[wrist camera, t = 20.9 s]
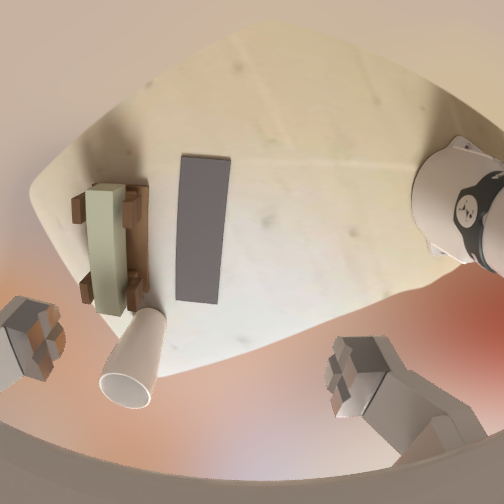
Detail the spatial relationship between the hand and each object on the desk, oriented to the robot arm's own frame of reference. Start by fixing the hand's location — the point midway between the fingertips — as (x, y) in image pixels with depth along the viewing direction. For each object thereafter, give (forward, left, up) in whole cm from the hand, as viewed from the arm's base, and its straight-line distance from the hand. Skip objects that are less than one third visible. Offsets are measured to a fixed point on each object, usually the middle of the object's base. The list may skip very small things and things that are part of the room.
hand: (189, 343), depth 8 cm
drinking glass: (+10, +23, -31) cm, 40 cm away
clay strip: (+14, +10, -28) cm, 33 cm away
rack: (+14, +10, -31) cm, 36 cm away
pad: (+3, +8, -31) cm, 32 cm away
